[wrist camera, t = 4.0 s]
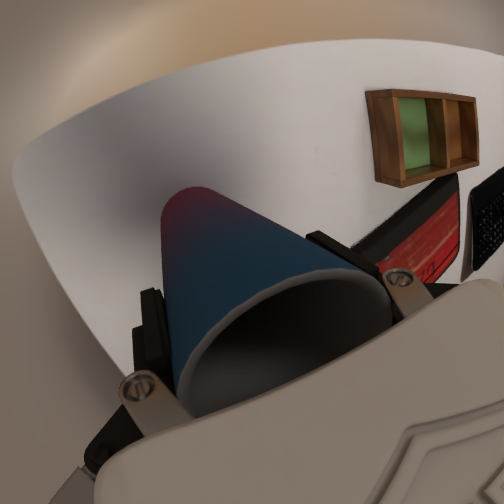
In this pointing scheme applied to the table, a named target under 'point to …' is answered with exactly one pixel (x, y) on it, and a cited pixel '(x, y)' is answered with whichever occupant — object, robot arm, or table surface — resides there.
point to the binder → (419, 233)
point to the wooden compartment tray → (421, 135)
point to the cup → (254, 302)
